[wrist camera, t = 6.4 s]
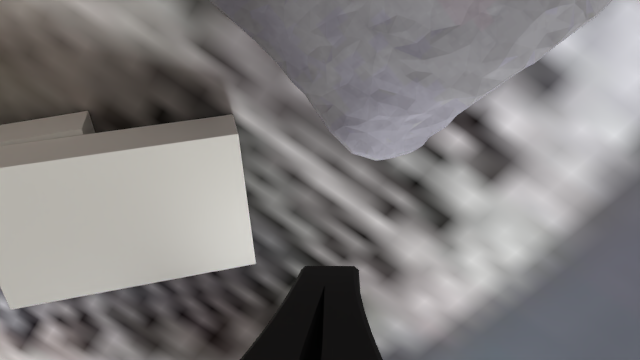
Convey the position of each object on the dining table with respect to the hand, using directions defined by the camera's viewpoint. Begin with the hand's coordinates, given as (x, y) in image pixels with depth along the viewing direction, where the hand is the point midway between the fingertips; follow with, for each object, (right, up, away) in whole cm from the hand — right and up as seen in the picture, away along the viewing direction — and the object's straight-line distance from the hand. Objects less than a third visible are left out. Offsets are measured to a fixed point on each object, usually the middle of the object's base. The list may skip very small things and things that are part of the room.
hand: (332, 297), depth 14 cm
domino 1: (-3, +3, +5) cm, 6 cm away
